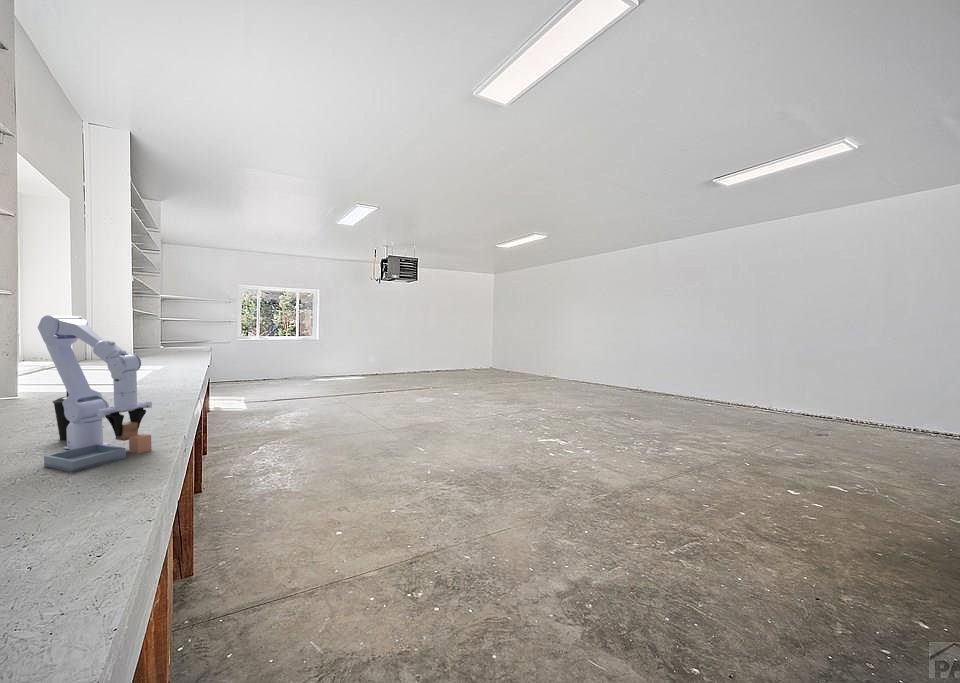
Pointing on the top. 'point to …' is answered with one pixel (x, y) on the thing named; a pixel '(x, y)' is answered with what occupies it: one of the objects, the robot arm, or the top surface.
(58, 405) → the drinking cup
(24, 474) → the top surface
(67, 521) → the top surface
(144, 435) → the terracotta block
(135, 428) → the tan block
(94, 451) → the tray
